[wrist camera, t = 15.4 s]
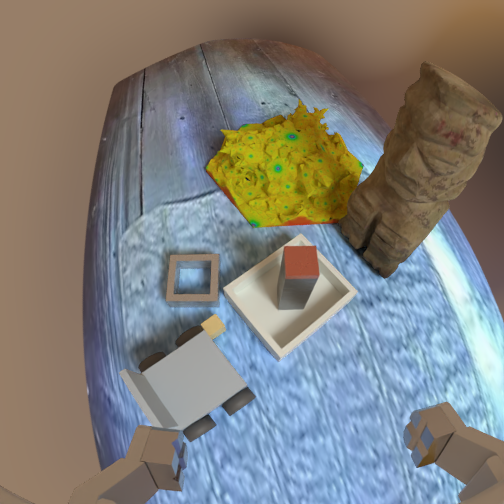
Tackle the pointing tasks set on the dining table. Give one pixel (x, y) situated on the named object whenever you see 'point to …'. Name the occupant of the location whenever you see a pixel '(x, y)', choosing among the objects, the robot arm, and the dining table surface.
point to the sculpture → (419, 167)
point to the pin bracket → (193, 263)
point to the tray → (286, 321)
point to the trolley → (187, 385)
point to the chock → (213, 326)
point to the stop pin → (297, 276)
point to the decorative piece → (286, 171)
